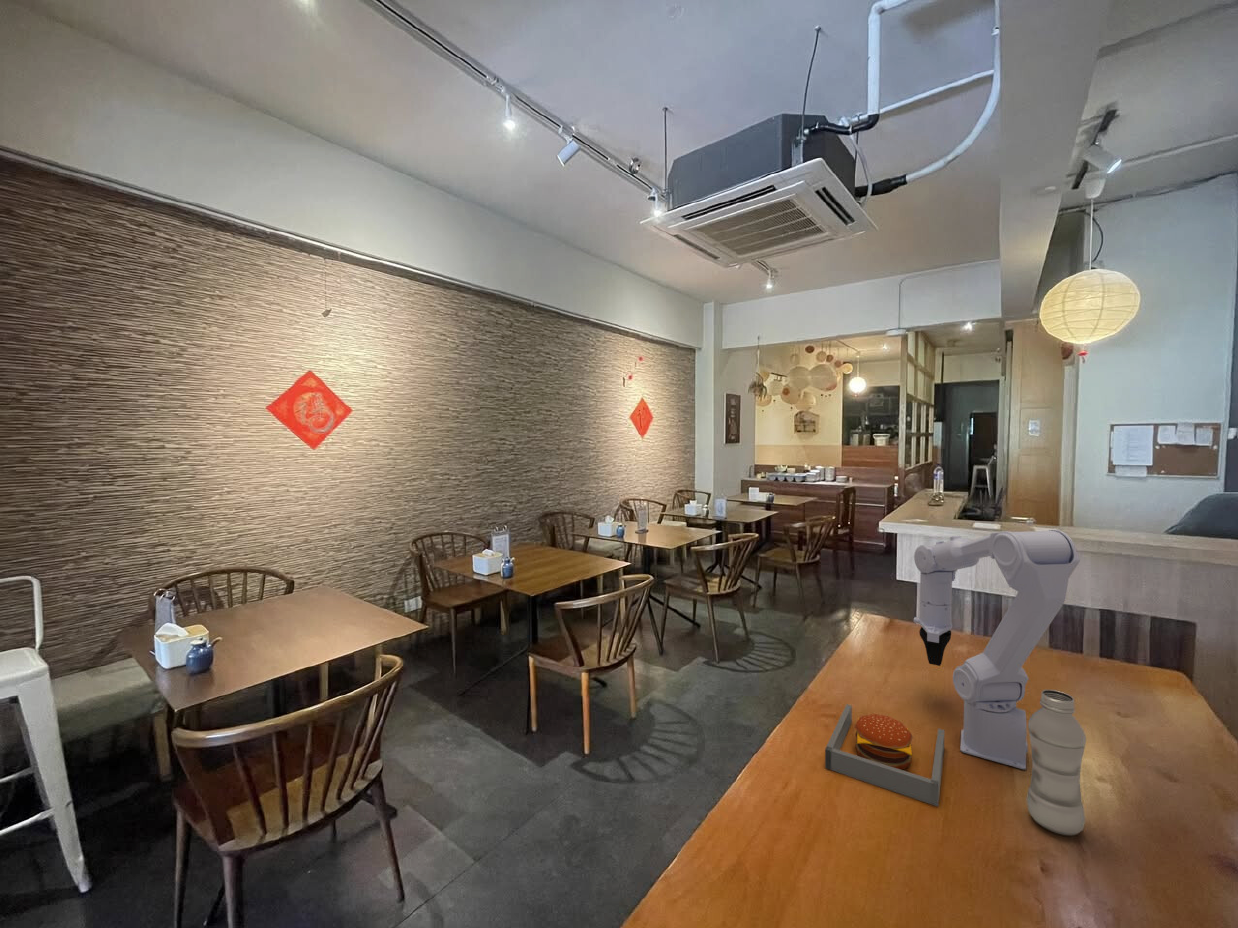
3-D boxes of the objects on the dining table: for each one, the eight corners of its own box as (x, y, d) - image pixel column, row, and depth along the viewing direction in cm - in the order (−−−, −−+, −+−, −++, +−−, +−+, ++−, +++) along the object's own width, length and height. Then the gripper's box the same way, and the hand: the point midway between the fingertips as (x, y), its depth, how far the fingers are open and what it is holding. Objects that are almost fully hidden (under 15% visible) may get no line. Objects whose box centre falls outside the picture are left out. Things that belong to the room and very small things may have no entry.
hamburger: (853, 735, 100) (853, 702, 99) (909, 747, 96) (910, 713, 95) (854, 764, 91) (854, 728, 91) (915, 778, 87) (916, 740, 87)
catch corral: (944, 748, 95) (944, 730, 95) (938, 806, 80) (938, 785, 80) (846, 720, 105) (846, 703, 104) (825, 767, 90) (825, 748, 90)
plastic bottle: (1096, 845, 72) (1100, 709, 71) (1041, 839, 73) (1045, 704, 72) (1066, 812, 78) (1069, 686, 77) (1016, 807, 80) (1019, 683, 79)
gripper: (917, 589, 116) (916, 647, 117) (910, 607, 104) (909, 672, 105) (954, 594, 112) (953, 654, 113) (951, 614, 100) (950, 680, 101)
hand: (934, 663), depth 109 cm, fingers closed
